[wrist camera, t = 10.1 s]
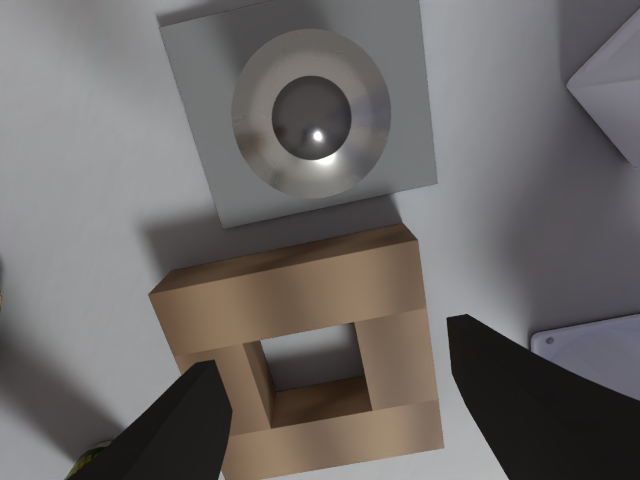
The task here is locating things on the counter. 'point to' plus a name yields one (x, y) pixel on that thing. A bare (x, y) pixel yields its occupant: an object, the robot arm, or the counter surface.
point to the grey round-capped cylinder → (311, 113)
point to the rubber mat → (241, 44)
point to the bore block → (304, 315)
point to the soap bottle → (614, 88)
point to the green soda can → (88, 457)
